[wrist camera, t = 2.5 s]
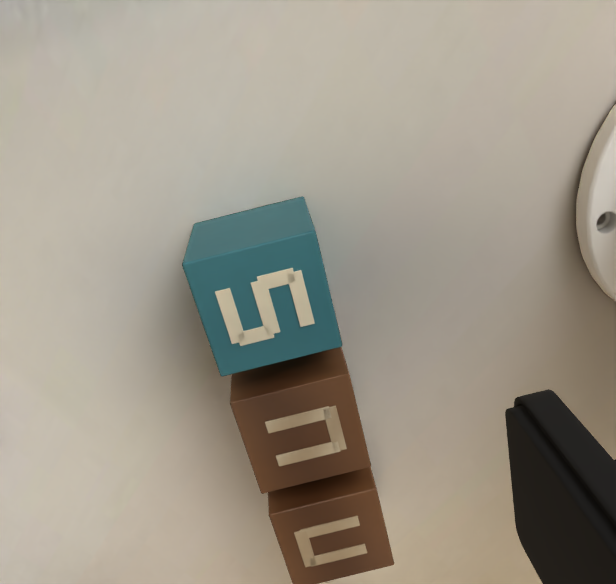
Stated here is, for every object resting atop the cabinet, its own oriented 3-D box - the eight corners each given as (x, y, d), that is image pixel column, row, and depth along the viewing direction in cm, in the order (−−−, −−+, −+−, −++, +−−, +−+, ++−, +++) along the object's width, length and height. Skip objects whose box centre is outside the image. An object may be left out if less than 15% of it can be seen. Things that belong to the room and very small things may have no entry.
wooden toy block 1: (332, 318, 25) (349, 374, 21) (352, 402, 27) (371, 468, 23) (232, 343, 25) (229, 404, 21) (259, 425, 27) (261, 495, 23)
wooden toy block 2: (357, 421, 27) (376, 489, 23) (374, 491, 29) (395, 566, 25) (265, 444, 27) (268, 516, 23) (288, 512, 29) (294, 591, 25)
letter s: (303, 195, 23) (315, 231, 18) (327, 295, 24) (343, 348, 20) (193, 223, 23) (181, 264, 19) (225, 321, 24) (220, 378, 20)
